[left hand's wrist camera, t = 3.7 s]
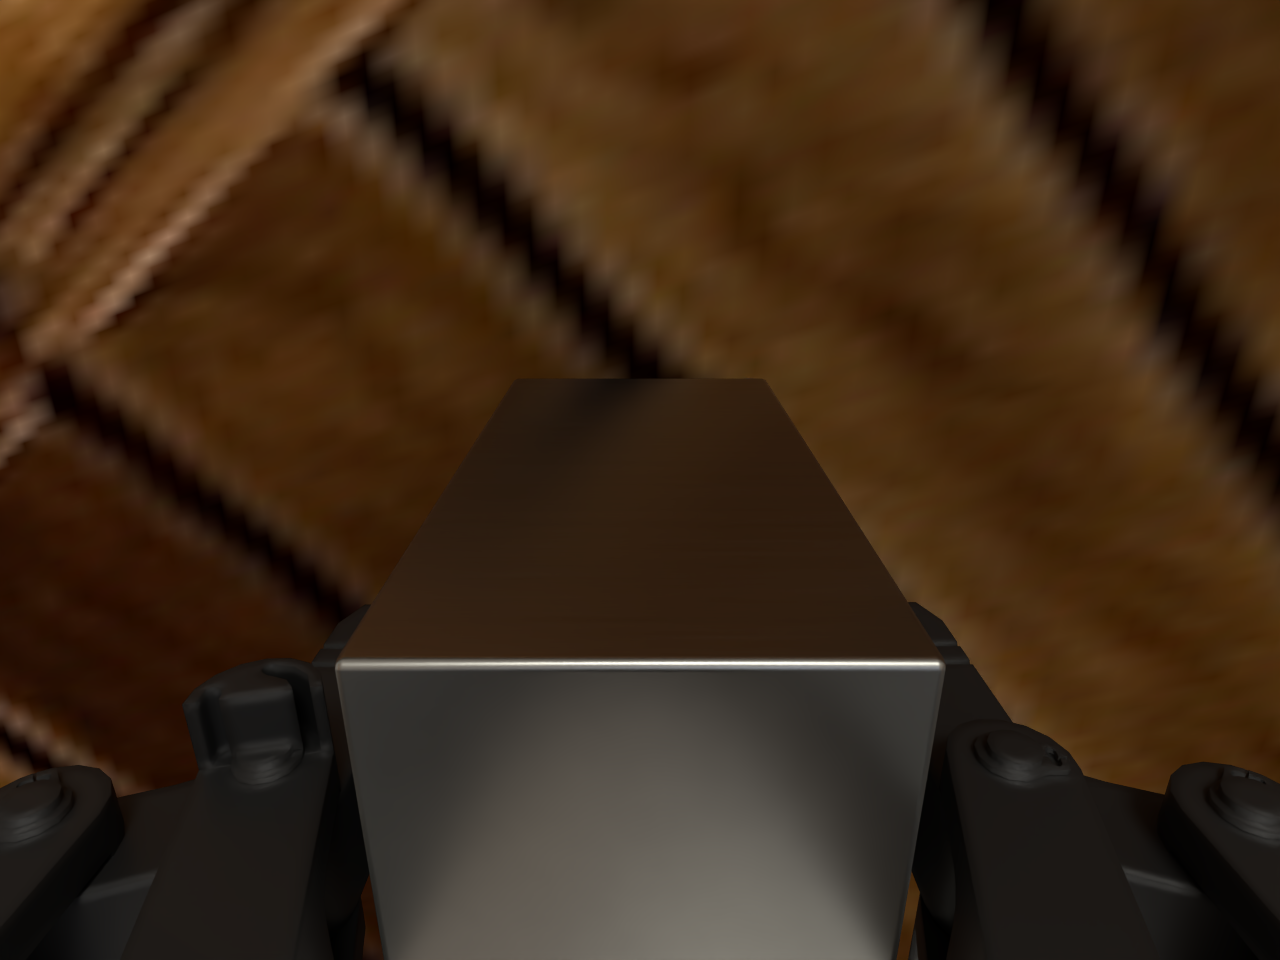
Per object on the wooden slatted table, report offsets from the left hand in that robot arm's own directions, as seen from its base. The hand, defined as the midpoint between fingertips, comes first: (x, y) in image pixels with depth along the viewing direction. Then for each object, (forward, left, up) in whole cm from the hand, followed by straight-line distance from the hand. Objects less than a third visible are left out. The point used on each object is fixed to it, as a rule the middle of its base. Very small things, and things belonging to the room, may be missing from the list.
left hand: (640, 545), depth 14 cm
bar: (-7, +7, -1) cm, 10 cm away
